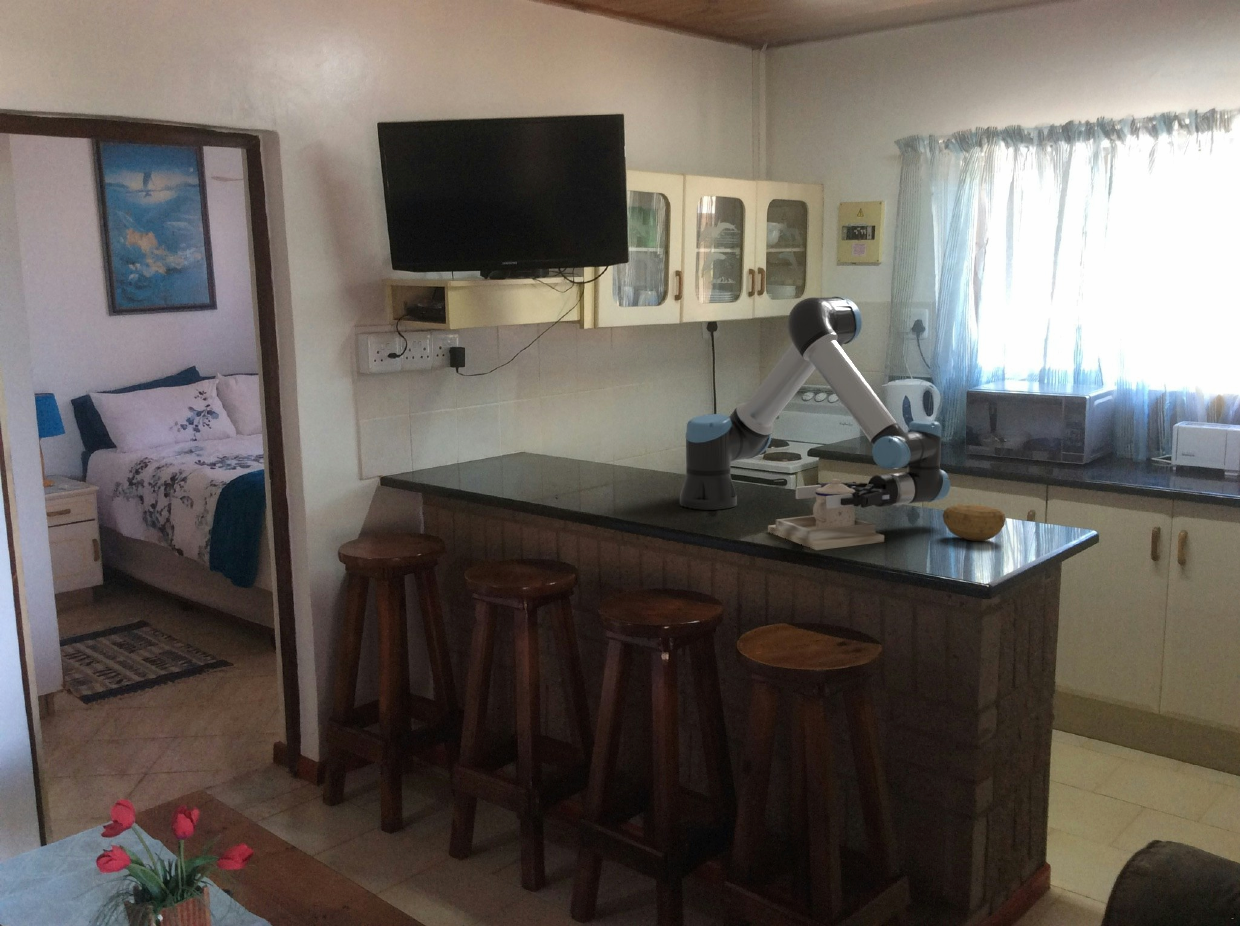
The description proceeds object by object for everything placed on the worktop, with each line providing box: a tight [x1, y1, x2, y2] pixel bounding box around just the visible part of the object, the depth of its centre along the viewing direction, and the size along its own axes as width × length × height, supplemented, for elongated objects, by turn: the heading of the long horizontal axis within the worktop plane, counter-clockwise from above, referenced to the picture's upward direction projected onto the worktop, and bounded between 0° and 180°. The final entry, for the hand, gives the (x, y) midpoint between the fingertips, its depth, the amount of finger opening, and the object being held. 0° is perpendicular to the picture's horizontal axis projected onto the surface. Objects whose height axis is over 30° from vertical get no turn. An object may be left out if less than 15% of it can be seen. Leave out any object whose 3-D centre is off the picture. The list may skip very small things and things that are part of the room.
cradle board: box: [767, 514, 885, 551], centre depth 248 cm, size 20×18×4 cm
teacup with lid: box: [812, 478, 856, 530], centre depth 246 cm, size 12×9×12 cm
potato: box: [942, 503, 1006, 542], centre depth 243 cm, size 10×14×8 cm
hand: (811, 497), depth 245 cm, fingers open, 11 cm apart
